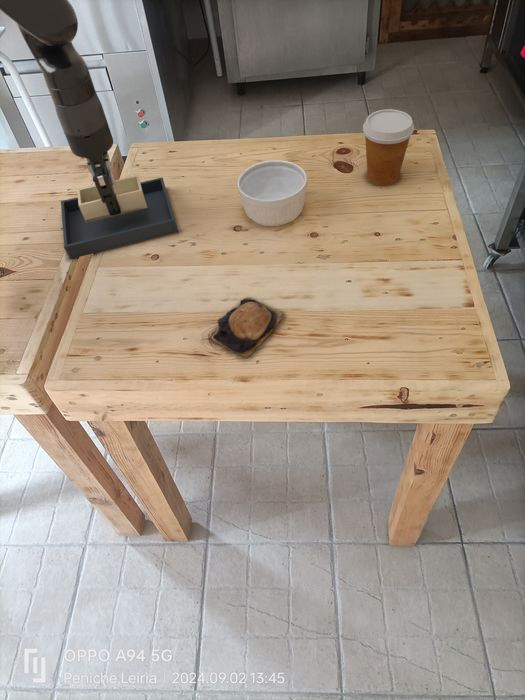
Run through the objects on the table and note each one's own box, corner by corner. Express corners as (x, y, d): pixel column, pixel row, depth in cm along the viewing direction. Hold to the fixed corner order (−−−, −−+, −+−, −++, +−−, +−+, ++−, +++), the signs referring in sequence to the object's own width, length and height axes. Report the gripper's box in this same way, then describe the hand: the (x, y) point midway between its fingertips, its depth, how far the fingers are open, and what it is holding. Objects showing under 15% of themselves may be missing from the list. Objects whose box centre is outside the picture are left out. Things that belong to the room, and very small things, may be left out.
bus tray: (69, 259, 101) (63, 247, 99) (66, 213, 110) (60, 200, 108) (178, 232, 103) (175, 219, 101) (165, 189, 113) (162, 177, 110)
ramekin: (240, 233, 101) (236, 203, 96) (241, 192, 110) (237, 162, 104) (309, 228, 101) (309, 197, 95) (305, 187, 109) (304, 156, 104)
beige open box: (86, 222, 102) (78, 205, 99) (84, 206, 105) (76, 189, 102) (147, 207, 103) (142, 190, 100) (143, 192, 106) (138, 174, 103)
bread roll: (246, 298, 91) (244, 282, 88) (286, 317, 87) (285, 302, 84) (206, 338, 86) (202, 323, 83) (247, 361, 82) (245, 345, 79)
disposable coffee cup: (368, 194, 106) (372, 138, 96) (353, 168, 112) (356, 113, 102) (413, 185, 106) (423, 128, 97) (397, 160, 112) (404, 104, 103)
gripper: (60, 107, 94) (92, 188, 108) (63, 148, 86) (98, 231, 99) (102, 98, 95) (128, 180, 108) (109, 137, 86) (137, 221, 100)
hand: (114, 204), depth 104 cm, fingers closed on beige open box, 5 cm apart
